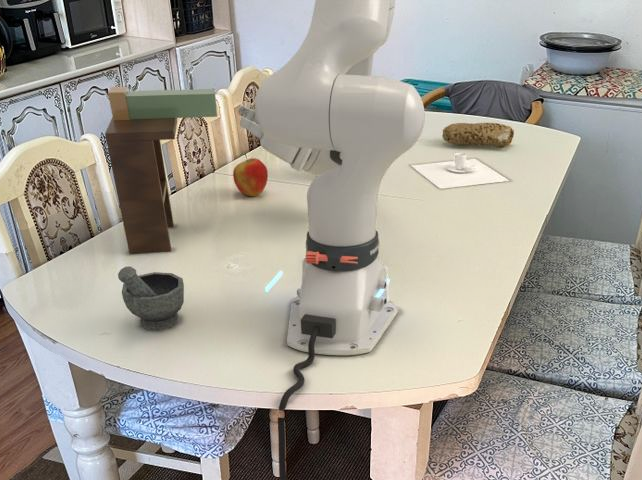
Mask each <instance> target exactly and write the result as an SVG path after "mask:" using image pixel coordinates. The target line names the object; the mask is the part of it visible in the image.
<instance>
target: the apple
mask: <svg viewBox="0 0 642 480" xmlns="http://www.w3.org/2000/svg"><path fill="white" fill-rule="evenodd" d="M244 155H245V158H246V160H244V161H242V162H240V163H238V164H236V166H235V167H234V168H233V172H232V177H233V178H232V179H233V182H234V184H235V186H236V188H237V190H238V191H239V192H240V193H242V194H243V195H244V196H247V197H257V196H259V195H261V193H263V191H264V190H265V188H266V187H267V183H268V179H269V177H268V176H269V173H268V172H269V171H268V168H267V166H266V165H265V164H264V162H263V161H261V160H260V159H258V158H256V157H253V158H248V157H247V153H244Z"/></svg>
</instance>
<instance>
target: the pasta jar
mask: <svg viewBox="0 0 642 480" xmlns="http://www.w3.org/2000/svg"><path fill="white" fill-rule="evenodd" d="M107 95H108V101H109V105H110V111H111V115H112V117H113V121H119V120H134V119H163V118H177V119H189V118H190V119H191V118H217V117H218V107H217V98H216V90H215V88H199V89H198V88H195V89H194V88H193V89H191V88H190V89H165V90H164V89H161V90H160V89H159V90H158V89H157V90H129V88H128V86H126V85H125V86H110V88H109V90H108V92H107Z"/></svg>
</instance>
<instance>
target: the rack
mask: <svg viewBox="0 0 642 480" xmlns="http://www.w3.org/2000/svg"><path fill="white" fill-rule="evenodd" d="M177 125H178V118H163V119H134V120H119V121H113V116H112V117H111V119H110V122H109V124H108V126H107V128H106V130H105V132H104V137H105V141H106V146H107V151H108V155H109V160H110V166H111V169H112V175H113V180H114V185H115V189H116V194H117V199H118V205H119V210H120V214H121V219H122V224H123V229H124V234H125V238H126V244H127V249H128V254H129V255H138V254H139V255H140V254H152V253H154V254H155V253H169V252H172V244H171V238H170V233H169V228H174V227H175V224H174V217H173V211H172V205H171V197H170V192H169V186H168V181H167V175H166V170H165V169H166V168H165V162H164V155H163V149H162V144H161V141H165V140H166V141H168V140H169V141H170V140H175V139H176V132H177V128H178V127H177Z"/></svg>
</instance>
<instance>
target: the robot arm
mask: <svg viewBox="0 0 642 480" xmlns="http://www.w3.org/2000/svg"><path fill="white" fill-rule="evenodd" d="M395 3H396V0H315V2H314V6H313V12H312V16H311V21H310V25H309V29H308V31H307V34H306V35H305V38H304V39H303V41H302V43H301V45H300V46H299V48H298V49H297V51H296V52H295V54H294V55H293V56H292V57H291V58H290V59H289V60H288V61H287V62H286V63H285V64H284V65H283V66H282V67H280V68H279V69H278V70H276V71H274V72H273V73H271V74H269V75H268V76H266V78H264V80H263V81H262V83H260V86H259V87H258V90H257V92H256V94H255V100H254V108H253V109H252V108H249V107H247V106H246V105H243V104H240V106H239V108H238V110H237V113H238V115H239V116H241V119H240V121H239V126H240V127H241V128H242V129H244V130H246V131H248V132H249V133H251V134H252V135H253V136H255V137H256V138H258V139H259V141H260V146H261V147H262V148H263V149H264V150H265V151H266V152H267V153H269V154H271V155H273V156H274V157H277V158H278V159H279V160H282V161H283V162H285V163H287V164H289V165H290V168H291V169H293V170H295V171H296V172H301V171H303V172H305V173H309V174H313V175H315V176H316V177H315V178H314V179H313V180H312V181H311V183H310V184H309V186H308V189H307V192H306V205H307V222H308V223H307V225H308V231H307V232H306V240H305V258H303V259H302V260H301V270H302V273H301V282H300V288H298V289H297V290H296V295H297V296H294V297H293V298H291V303H290V312H289V317H288V319H289V320H288V325H287V334H286V345H287V346H288V347H290V348H292V349H295V350H298V351H301V352H305V353H308V355H307V356H308V357H307V358H306V359H305V360H303V361H301V362H298V363H296V364H295V365H294V366H293V369H292V371H293V374H294V376H295V377H296V378H297V382H296V383H294V384H293V385H292V386H290V387H289V388H287V389H286V390H285V392H284V393H283V395H282V397H281V399H280V402H279V406H278V410H279V411H285V410H286V408H287V405H288V402H289V399H290V397H291V396H292V395H293V394H295V392H297V391H298V390H300V389H301V388H303V386H304V383H305V381H306V380H305V376H304V374H303V373H302V372H301V370H302V369H303V368H307V367H308V366H310V365H311V364H312V363H313V362H314V360H315V356H316V354H317V355H325V356H356V355H363V354H367V353H371V351H373V349H374V348H375V347H376V346H377V344H378V342H379V340H381V338H382V337H383V335H384V333H385V332H386V330H387V329H388V328H389V326H390V325H391V323H392V322H393V320H394V319H395V318H396V317H397V314H398V313H399V308H398V305H397V304H395V303H394V302H391V301H389V284H390V278H389V276H388V266H386V264H385V263H384V262H383V261H382V260H381V259H380V257H379V254H380V253H379V248H380V239H379V231H378V230H377V208H378V207H377V206H378V197H379V190H380V186H381V183H382V181H383V179H384V176H385V174H386V173H387V171H388V170H389V169H390V167H391V166H392V164H393V163H394V162H395V161H396V160H397V159H398V158H399V157H401V156H402V155H403V154H406V153H407V152H408V151H410V149H412V148H413V147H414V146H415V145H416V143H417V142H418V141H419V139H420V137H421V135H422V133H423V130H424V127H425V121H426V111H425V106H424V101H423V100H422V97H421V95H420V94H419V92H418V90H417V89H416V87H415V86H414V85H412V84H410V83H408V82H404V81H400V80H398V79H394V78H389V77H385V76H377V75H375V76H374V75H372V70H373V60H374V54H376V52H377V51H378V50H379V49H380V48H381V47H382V46H384V45H385V44H386V43H387V41H388V39H389V36H390V32H391V28H392V24H393V20H394V13H395V5H396V4H395ZM282 276H283V270H279V272H278V273H277V274H276V275H275V276H274V277H273V279H272V280H271V281H270V282H269V283H268V284H267V285H266V286H265V287H264V289H265V292H266V293H268V292H269V291H270V289H272V287H273V286H274V285H275V284H276V283H277V281H279V279H280V278H281V277H282ZM285 425H286V424H285V417H279V416H278V417H277V433H278V435H277V437H278V439H277V440H278V475H279V480H287V471H286V466H287V465H286V427H285Z"/></svg>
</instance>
